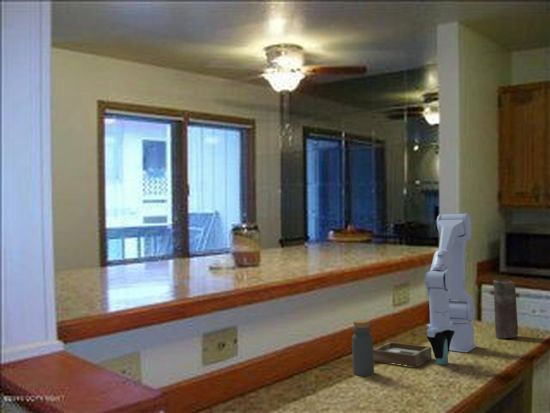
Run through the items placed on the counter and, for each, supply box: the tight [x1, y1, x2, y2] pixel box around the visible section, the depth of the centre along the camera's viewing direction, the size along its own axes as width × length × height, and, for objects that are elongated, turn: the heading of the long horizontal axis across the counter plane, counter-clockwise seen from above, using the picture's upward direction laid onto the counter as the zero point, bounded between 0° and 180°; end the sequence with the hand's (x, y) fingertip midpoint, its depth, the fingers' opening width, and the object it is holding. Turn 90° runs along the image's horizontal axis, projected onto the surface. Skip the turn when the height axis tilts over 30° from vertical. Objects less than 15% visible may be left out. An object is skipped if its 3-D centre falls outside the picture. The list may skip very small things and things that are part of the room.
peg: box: [434, 339, 449, 365], centre depth 169 cm, size 4×4×7 cm
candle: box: [492, 278, 519, 339], centre depth 197 cm, size 8×7×20 cm
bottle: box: [351, 318, 375, 377], centre depth 163 cm, size 6×6×15 cm
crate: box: [373, 341, 433, 368], centre depth 175 cm, size 12×14×4 cm
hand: (441, 356), depth 169 cm, fingers closed on peg, 4 cm apart
